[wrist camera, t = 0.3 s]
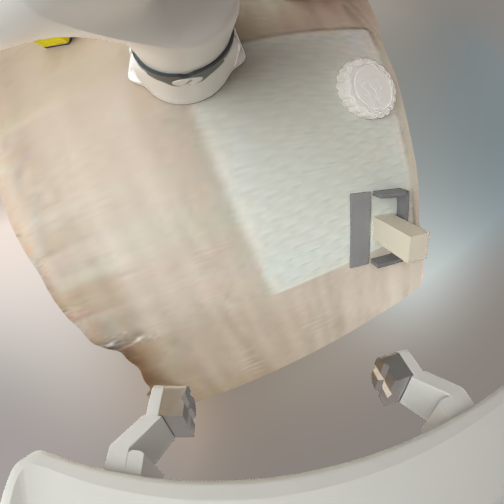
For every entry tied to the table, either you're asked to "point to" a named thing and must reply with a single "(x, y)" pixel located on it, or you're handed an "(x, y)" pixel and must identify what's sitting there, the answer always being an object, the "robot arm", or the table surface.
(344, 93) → the mooncake
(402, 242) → the beige rectangular block
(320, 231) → the table surface
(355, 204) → the grey open frame
